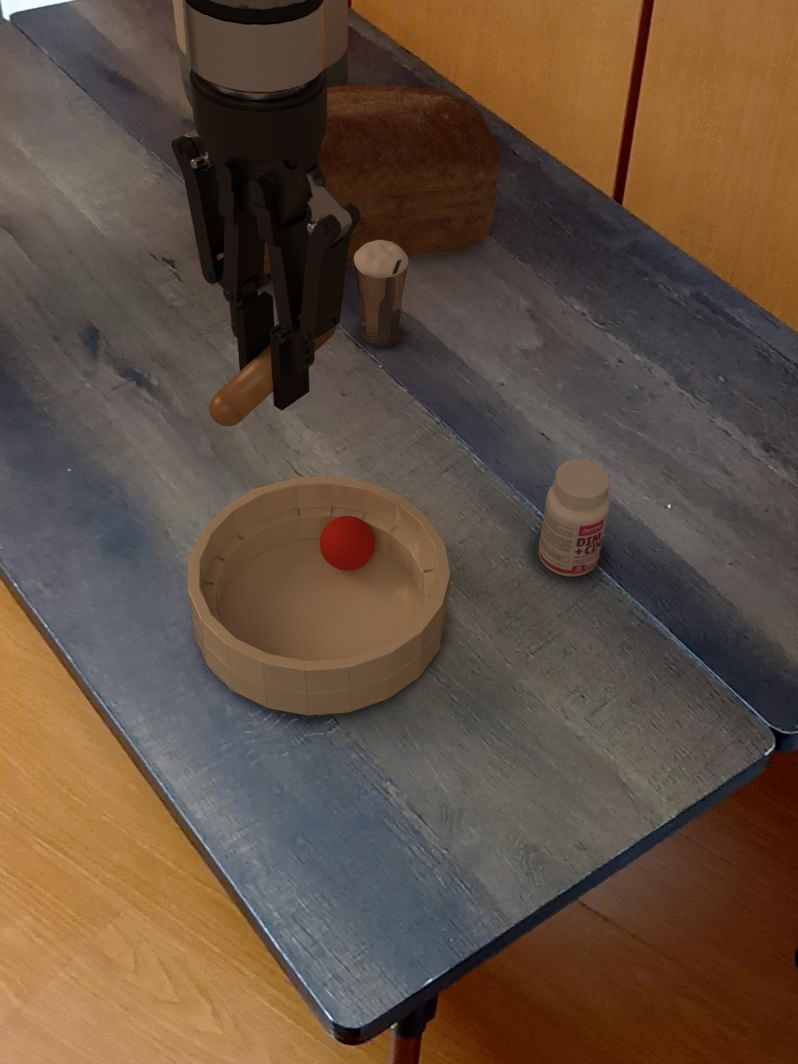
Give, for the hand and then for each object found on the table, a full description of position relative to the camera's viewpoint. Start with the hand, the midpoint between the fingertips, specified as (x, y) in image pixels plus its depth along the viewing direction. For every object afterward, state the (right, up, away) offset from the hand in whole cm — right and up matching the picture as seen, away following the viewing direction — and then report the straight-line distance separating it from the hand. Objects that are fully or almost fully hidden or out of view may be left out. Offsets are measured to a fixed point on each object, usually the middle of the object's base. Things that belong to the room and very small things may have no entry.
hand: (275, 388), depth 90 cm
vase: (-11, +34, +50) cm, 61 cm away
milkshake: (+4, +7, +27) cm, 28 cm away
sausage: (-1, +2, -1) cm, 2 cm away
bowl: (+2, -16, +4) cm, 17 cm away
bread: (0, +18, +37) cm, 41 cm away
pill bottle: (+20, -12, +11) cm, 26 cm away
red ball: (+4, -11, +6) cm, 13 cm away
